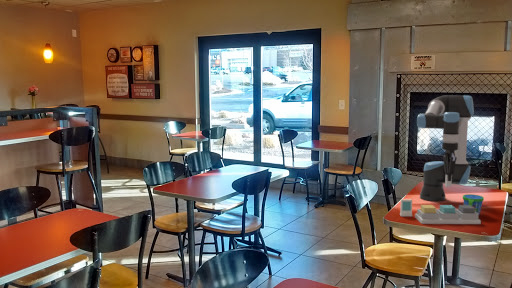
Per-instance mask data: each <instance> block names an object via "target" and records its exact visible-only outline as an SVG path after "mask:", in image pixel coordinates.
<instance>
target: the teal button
mask: <svg viewBox="0 0 512 288" xmlns="http://www.w3.org/2000/svg"><path fill="white" fill-rule="evenodd" d="M439 209H440V211H441V212H442V213H455V209H456V207H455V206H454V205H452V204H439Z"/></svg>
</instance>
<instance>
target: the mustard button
mask: <svg viewBox="0 0 512 288" xmlns="http://www.w3.org/2000/svg"><path fill="white" fill-rule="evenodd" d="M420 209H421V211H422V212H423V213H436V209H437V208H436V207H435V206H434V205H433V204H421V205H420Z"/></svg>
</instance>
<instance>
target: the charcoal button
mask: <svg viewBox="0 0 512 288" xmlns="http://www.w3.org/2000/svg"><path fill="white" fill-rule="evenodd" d="M458 209H459V211H460V212H462V213H475V208H474V207H472V206H471V205H464V204H459V205H458Z"/></svg>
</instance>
